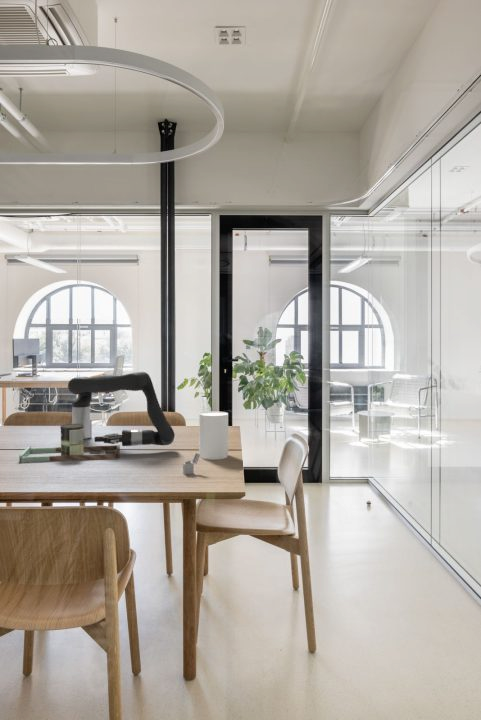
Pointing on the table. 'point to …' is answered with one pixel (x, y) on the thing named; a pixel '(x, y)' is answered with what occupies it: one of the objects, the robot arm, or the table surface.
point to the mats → (105, 452)
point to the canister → (213, 435)
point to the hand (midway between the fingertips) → (94, 439)
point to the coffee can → (72, 439)
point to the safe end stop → (35, 458)
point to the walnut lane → (89, 456)
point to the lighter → (190, 465)
